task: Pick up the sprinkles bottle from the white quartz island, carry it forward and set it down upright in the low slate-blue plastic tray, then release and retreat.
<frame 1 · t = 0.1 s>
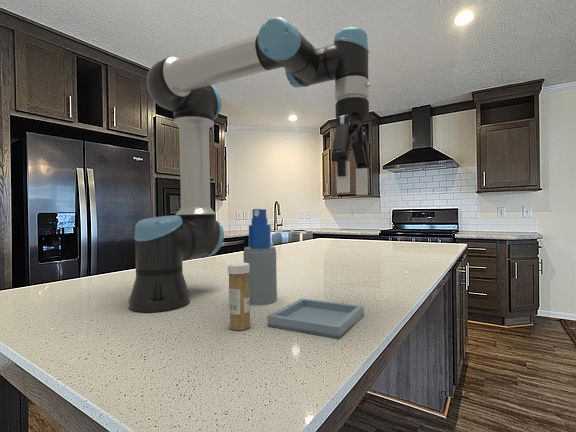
hand: (353, 194, 77), 28 cm above the counter, fingers open, 13 cm apart
sprinkles bottle: (239, 328, 71), on the counter
spray bottle: (260, 301, 92), on the counter
tray: (317, 320, 74), on the counter
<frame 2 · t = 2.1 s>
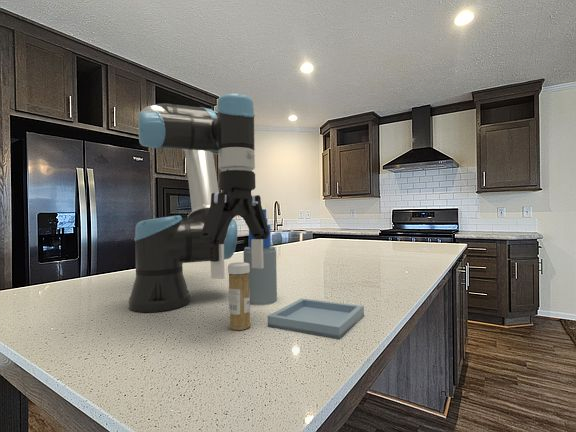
hand: (239, 272, 71), 11 cm above the counter, fingers open, 13 cm apart
nothing on the counter moved.
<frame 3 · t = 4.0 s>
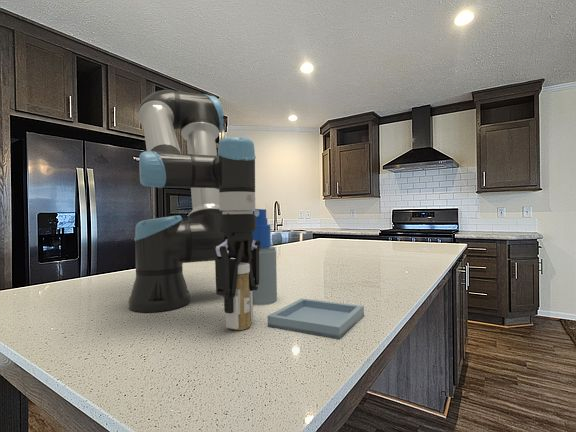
hand: (239, 323, 71), 1 cm above the counter, fingers closed on sprinkles bottle, 4 cm apart
sprinkles bottle: (239, 328, 71), on the counter, touching gripper
everything else where it was.
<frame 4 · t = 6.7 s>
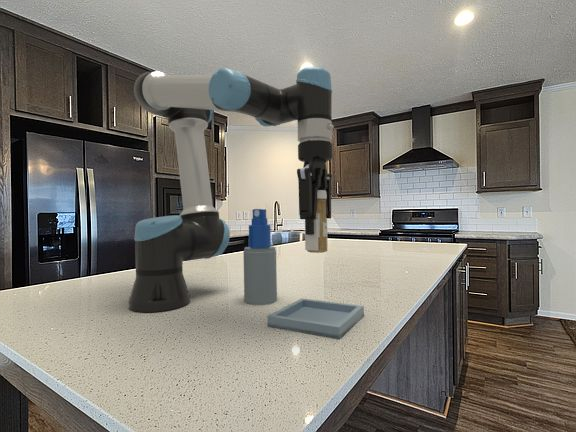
hand: (316, 248, 74), 16 cm above the counter, fingers closed on sprinkles bottle, 4 cm apart
sprinkles bottle: (317, 252, 74), point 15 cm above the counter, touching gripper
everything else where it was.
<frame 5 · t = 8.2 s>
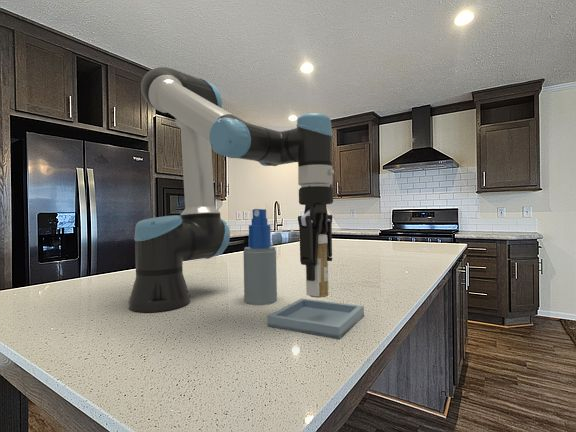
hand: (317, 292, 74), 6 cm above the counter, fingers closed on sprinkles bottle, 4 cm apart
sprinkles bottle: (318, 296, 74), point 5 cm above the counter, touching gripper
everything else where it was.
when the fingers open (3 cm above the counter, at t = 9.6 s): sprinkles bottle drops 1 cm, resting on tray.
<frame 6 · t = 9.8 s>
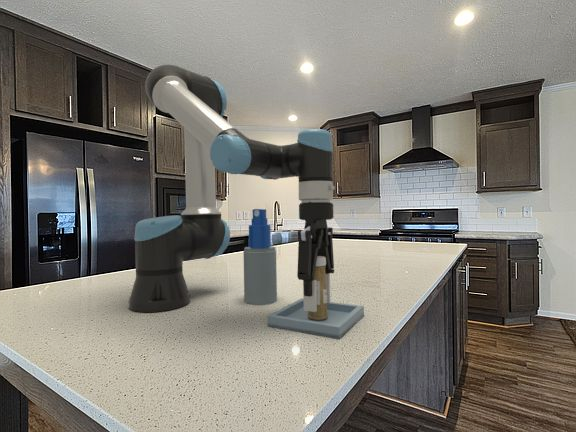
hand: (317, 306, 74), 3 cm above the counter, fingers open, 7 cm apart
sprinkles bottle: (317, 318, 74), resting on tray
everything else where it was.
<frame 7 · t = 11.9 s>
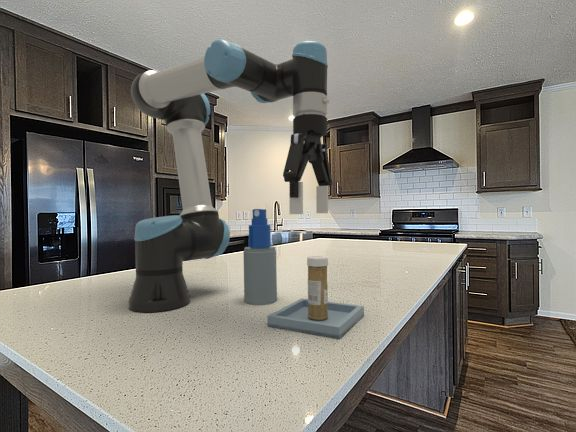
hand: (310, 213, 75), 24 cm above the counter, fingers open, 13 cm apart
nothing on the counter moved.
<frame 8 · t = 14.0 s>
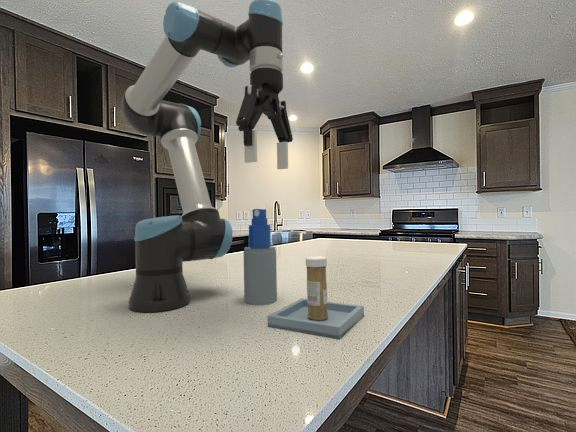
hand: (268, 165, 77), 35 cm above the counter, fingers open, 13 cm apart
nothing on the counter moved.
at the end: sprinkles bottle inside the target area on the tray (0.0 cm from its centre), point 0.4 cm above the tray's base; sprinkles bottle tilted 1°; the gripper is holding nothing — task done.
